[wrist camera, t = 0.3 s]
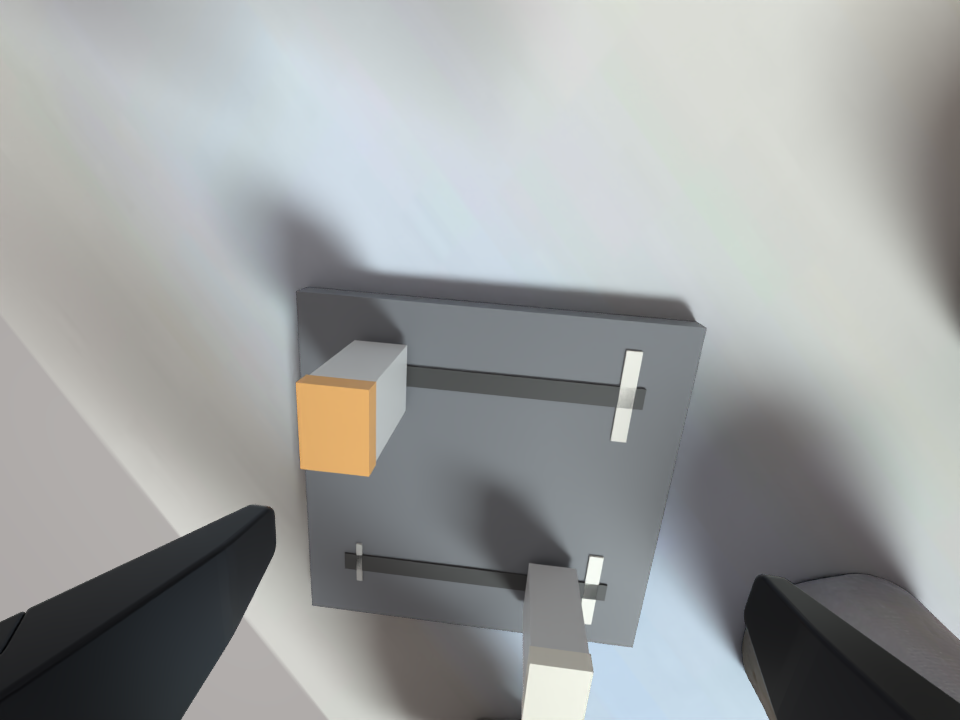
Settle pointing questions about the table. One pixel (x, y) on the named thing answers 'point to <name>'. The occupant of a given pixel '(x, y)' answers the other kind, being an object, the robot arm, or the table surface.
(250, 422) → the table surface
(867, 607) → the pillar candle
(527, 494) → the console
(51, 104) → the table surface
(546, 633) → the fader
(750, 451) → the table surface
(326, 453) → the fader
